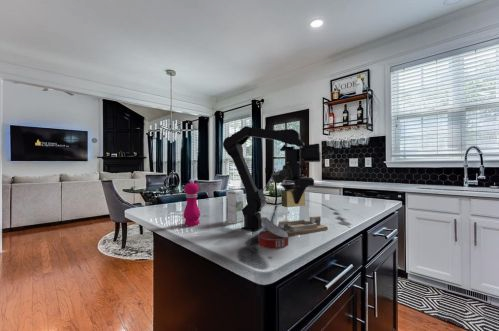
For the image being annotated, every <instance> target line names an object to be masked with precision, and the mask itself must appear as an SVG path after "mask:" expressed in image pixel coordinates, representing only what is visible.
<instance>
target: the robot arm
mask: <svg viewBox="0 0 499 331" xmlns="http://www.w3.org/2000/svg"><path fill="white" fill-rule="evenodd" d="M251 137H252V138H260V139H267V140H273V141H274V140H275V141H278V142H281V143H283V146H282V147H281V148H279V151H280V152H284V159H285V160H284V161H285V163H284V165H282V169H280V170H278V171H275V172H274V173H272V174H271V178H272V180H273V182H274V183H275V184H279V186H281V187H282V188H283V190H294V198H295V204H298V203H299V201H300V199H301V197H302V195H303V193H304V191H305V192H306V189H307V188H308V187H309V186H311V187H312V186H315V179H314V178H313V177H308V176H307V177H306V176H305V177H304V175H301V169H303V166H304V165H303V164H301V161H302V160H304V163H321V161H322V160H321V157H322V156H321V148H320V146H321V144H320V143H314V144H312V143H311V144H305V142H304V141H303V140H302V138H301V134H300V133H299V132H298V131H297V130H296V129H294V128H286V129H280V130H279V129H276V130H275V129H269V128H261V127H260V128H259V127H252V126H251V127H250V126H249V125H248V126H247V125H245V126H243V127H241V129H240V130H238V131H236V132H234V133H232V134H231V135H230V136H227V137H225V138H224V140H223V142H222V147H223V149H224V150H225V152H226V153H227V154H228V156H229V157H230V159H232V161H233V163H234V166H235V168H236V170H237V173H238V175H239V177H240V181H241V183H242V185H243V187H244V191H245V200H246V205H244V206H243V209H242V212H243V226H242V227H241V229H242V230H247V231H252V232H256V231H258V230H260V229H262V228H264V225H263V223H262V218H263V217H262V216H261V215H262V213H261V211H262V209H263V208H264V207H265V205H266V204H267V203H266V202H267V201H266V199H267V197H266V196H265V192H264V191H263V190H264V189H262V188H261V189H259V188H258V187H257V185H256V183H255V181H254V178H253V176H252V174H251V171H250V169H249V167H248V165H247V162H246V160H245V157H244V148H243V145H244V144H246V143H247V141H248V140H249V139H250V138H251ZM284 143H285V144H284ZM286 144H287V145H289V146H287V145H286ZM295 146H296V147H299V148H295Z"/></svg>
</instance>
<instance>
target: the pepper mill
mask: <svg viewBox="0 0 499 331" xmlns="http://www.w3.org/2000/svg"><path fill="white" fill-rule="evenodd" d="M184 192H185V193H186V194H185V198H186V206H185V208H184V211H183V215H182V216H183V218H184V219H185V220H184V226H185V225H188V226H187V227H195V226H194V225H197V226H199V225H200V219H199V218H201V210H200V208H199V206H198V201H197V198H198V192H199V185H198V184H197V183H195V182H194V179H193V178H191V179H189V183H187V184H185V186H184ZM198 224H199V225H198Z"/></svg>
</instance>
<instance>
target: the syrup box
mask: <svg viewBox="0 0 499 331" xmlns="http://www.w3.org/2000/svg"><path fill="white" fill-rule="evenodd" d="M225 194H226V195H225V200H226V201H225V202H226V203H225V205H226V206H225V210H226V212H225V217H226V218H225V219H226V220H225V222H226V223H229V224H240V223H242V222H244V215H243V212H242V209H243V208H244V190H243V189H238V188H237V189H229V190H226V191H225Z"/></svg>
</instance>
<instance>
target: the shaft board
mask: <svg viewBox="0 0 499 331" xmlns="http://www.w3.org/2000/svg"><path fill="white" fill-rule="evenodd" d="M321 218H322V217H321V216H320V215H310V216H309V220H307V219H299V220H297V219H296V220H290V221H289V220H286V219H282V220H280V221H278V223H277V226H278V227H279V228H281V229H282V230H284V231H285V232H286V233H287V234H288V237H292V236H293V237H294V236H298V235H305V234H310V233H315V232H321V231H322V232H323V231H327V230H328V228H329V227H328V226H326V225H323V224H321Z"/></svg>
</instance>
